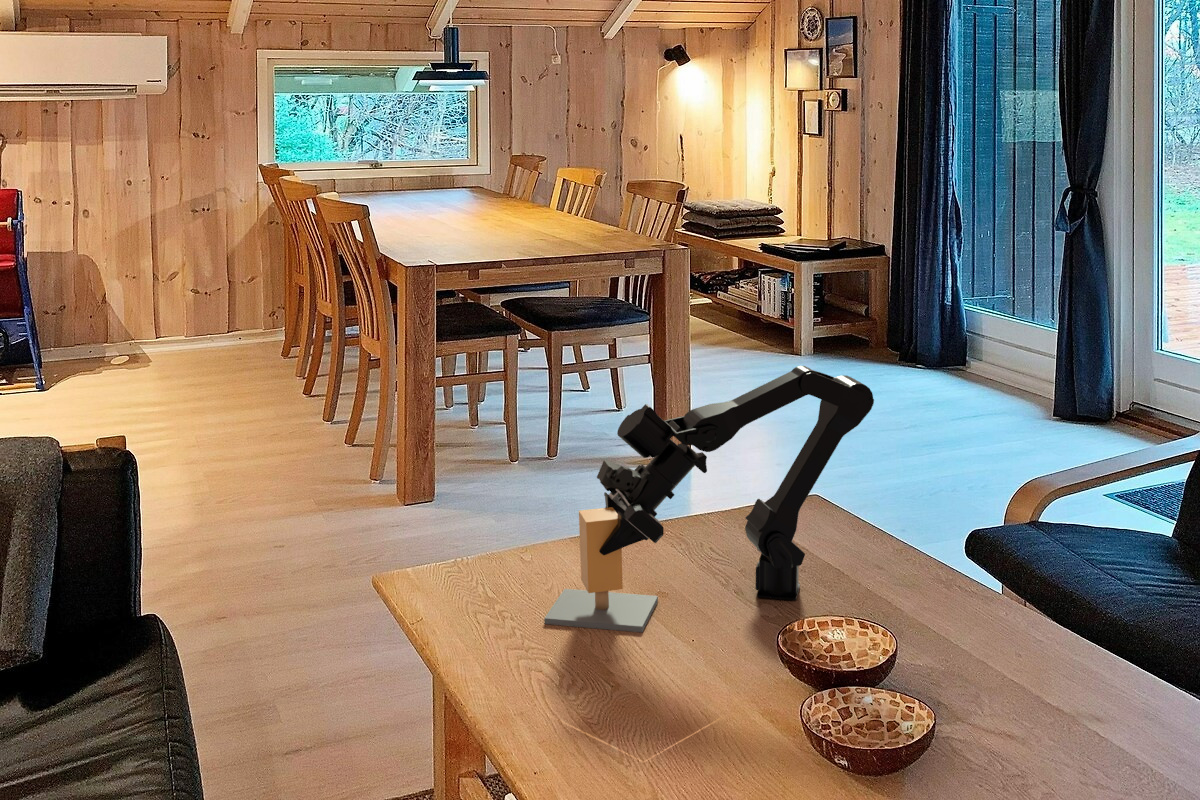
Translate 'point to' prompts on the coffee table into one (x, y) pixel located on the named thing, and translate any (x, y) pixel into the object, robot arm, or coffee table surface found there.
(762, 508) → the robot arm
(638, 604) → the post board
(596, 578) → the tall amber pillar
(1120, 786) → the coffee table surface
